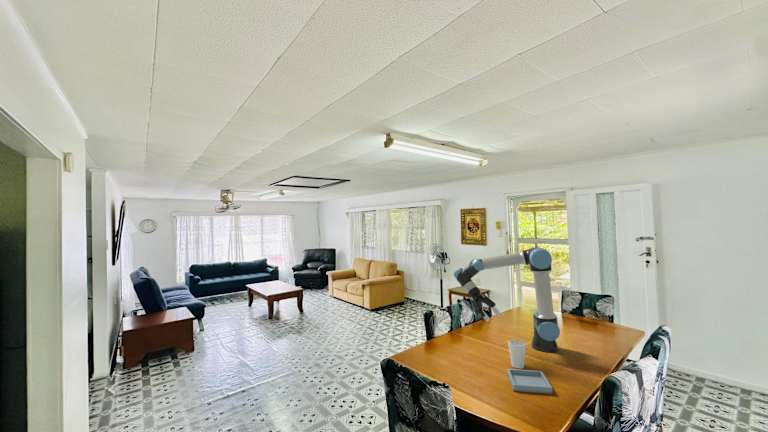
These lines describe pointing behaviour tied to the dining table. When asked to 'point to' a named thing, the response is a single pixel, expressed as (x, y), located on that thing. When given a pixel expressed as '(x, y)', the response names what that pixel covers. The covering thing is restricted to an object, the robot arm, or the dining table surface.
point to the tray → (529, 381)
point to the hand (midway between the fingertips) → (494, 318)
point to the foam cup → (517, 352)
